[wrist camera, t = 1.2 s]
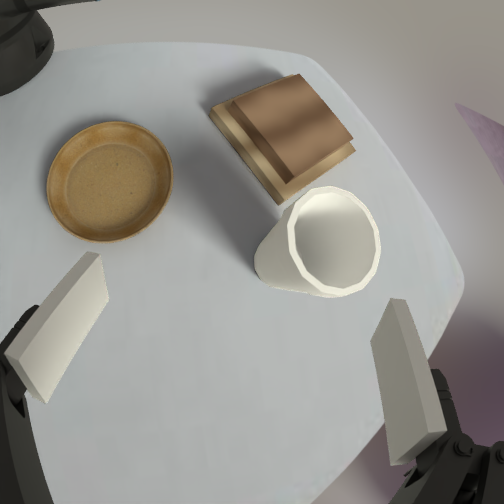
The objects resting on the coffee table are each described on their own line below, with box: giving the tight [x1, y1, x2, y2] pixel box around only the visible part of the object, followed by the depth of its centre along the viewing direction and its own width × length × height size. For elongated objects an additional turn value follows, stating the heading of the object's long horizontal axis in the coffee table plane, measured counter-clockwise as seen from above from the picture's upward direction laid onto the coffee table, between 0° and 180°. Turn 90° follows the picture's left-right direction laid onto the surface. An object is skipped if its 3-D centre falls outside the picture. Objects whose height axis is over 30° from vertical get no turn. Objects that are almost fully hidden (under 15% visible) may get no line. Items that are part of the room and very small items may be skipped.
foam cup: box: [254, 186, 381, 298], centre depth 32 cm, size 10×9×13 cm
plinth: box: [209, 74, 356, 206], centre depth 40 cm, size 15×15×4 cm
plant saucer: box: [46, 121, 173, 243], centre depth 33 cm, size 15×15×3 cm
